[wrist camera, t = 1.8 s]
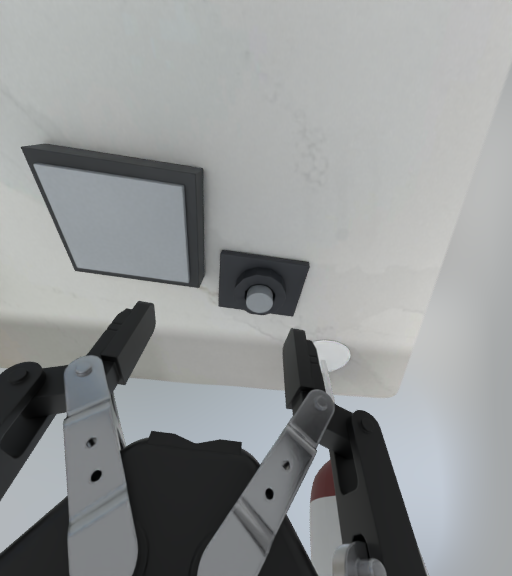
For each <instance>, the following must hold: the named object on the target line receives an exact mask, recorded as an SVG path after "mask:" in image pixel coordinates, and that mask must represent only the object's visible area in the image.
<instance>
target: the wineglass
mask: <svg viewBox="0 0 512 576" xmlns="http://www.w3.org/2000/svg"><path fill="white" fill-rule="evenodd" d="M313 344H314V345H315V347H316V349H317V354H318V358H319V365H320V368H321V372H323V378H324V383H325V388H326V393H327V394H328V395H329V396H330V397H331V399H332V400H333V402H334V403H335V400H334V396H333V391H332V386H331V382H330V377H329V373H328V372H330V371H334V370H337V369H339V368H341V367H342V366H344V365H345V364H346V363H347V362H348V361H349V359H350V351H349V349H348V348H347V347H346V346H345V345H343V344H341V343H339V342H336V341H330V340H321V341H315V342H313ZM310 541H311V562H312V564H313V566H314V568H315V570H316V572H317V574H318V576H332V561H333V555H334V552H335V550H336V548H337V547H338V546H340V545H341V544H342V538H341V531H340V524H339V517H338V509H337V502H336V495H335V488H334V481H333V474H332V466H331V459H330V460H329V461H328V462H327V463H326V464H324V466H323V467H322V468H321V469H320V470H319V472H318V473H317V475H316V476H315V479H314V482H313V486H312V491H311V500H310ZM418 549H419V548H418ZM419 552H420V551H419ZM420 555H421V553H420ZM421 558H422V556H421ZM422 561H423V558H422ZM423 564H424V568H425V571H426V574H427V576H429V574H428V571H427V569H426V566H425V563H424V561H423Z"/></svg>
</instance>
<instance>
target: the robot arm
mask: <svg viewBox="0 0 512 576" xmlns="http://www.w3.org/2000/svg"><path fill="white" fill-rule="evenodd" d="M155 324H156V320H155V309H154V304H153V303H148V302H142V301H138V302H137V303H136V305H135V306H134V308H133V309H125V310H124V311H122V312H121V313H119V314H118V315H117V316H116V317H115V319H114V320H113V321H112V324H110V325H109V327H108V328H107V330H106V331H105V332H104V333H103V334H102V336H101V337H100V338H99V340H98V341H97V342H96V344H95V345H94V346H93V348H92V349H91V350H90V352H89V353H88V354H87V355H86V356H83V357H80V358H78V359H76V360H74V361H73V362H71V363H70V364H69V365H65V366H58V367H50V368H42V367H41V366H40V365H39V364H38V363H36V362H23V363H19V364H16V365H14V366H12V367H10V368H8V369H6V370H5V371H4V372H2V373H1V374H0V501H1V499H2V497H3V496H4V494H5V493H6V491H7V489H8V488H9V487H10V485H11V484H12V482H13V480H14V479H15V477H16V476H17V474H18V473H19V471H20V470H21V468H22V467H23V465H24V463H25V462H26V460H27V459H28V457H29V456H30V454H31V453H32V451H33V450H34V448H35V446H36V445H37V443H38V442H39V440H40V439H41V437H42V436H43V434H44V432H45V431H46V429H47V428H48V426H49V425H50V423H51V422H52V420H53V419H54V417H55V415H56V414H59V413H64V412H67V417H66V419H64V422H63V429H64V430H63V431H64V446H65V461H66V476H67V492H68V496H67V497H66V498H64V499H63V500H62V501H61V502H60V503H59V504H58V505H56V506H55V507H54V508H53V509H52V510H50V511H49V512H48V513H47V514H46V515H45V516H44V517H42V518H41V519H40V520H39V521H38V522H37V523H35V524H34V525H33V526H32V527H31V528H29V529H28V530H27V531H26V532H25V533H24V534H22V536H20V537H19V538H18V539H17V540H16V541H14V542H13V543H12V544H11V545H10V546H9V547H8V548H6V549H5V550H4V551H3V552H2V553H0V576H318V574H317V572H316V570H315V568H314V566H313V564H312V562H311V560H310V559H309V557H308V555H307V553H306V551H305V549H304V547H303V545H302V543H301V541H300V540H299V537H298V536H297V534H296V532H295V530H294V528H293V526H292V524H291V522H290V520H289V518H288V516H287V514H286V513H287V511H288V509H289V507H290V505H291V503H292V501H293V499H294V497H295V495H296V493H297V491H298V489H299V487H300V485H301V483H302V481H303V479H304V477H305V475H306V473H307V471H308V469H309V467H310V465H311V463H312V461H313V459H314V457H315V455H316V452H317V450H316V448H317V446H318V444H320V445H322V446H324V447H326V448H328V449H329V452H330V459H331V466H332V474H333V481H334V488H335V495H336V502H337V509H338V517H339V524H340V531H341V538H342V544H341V545H340V546H338V547H337V548H336V550H335V552H334V555H333V561H332V576H427V574H426V571H425V568H424V564H423V561H422V558H421V555H420V552H419V549H418V546H417V542H416V539H415V536H414V533H413V530H412V527H411V523H410V521H409V517H408V514H407V511H406V508H405V505H404V501H403V498H402V495H401V492H400V489H399V486H398V482H397V479H396V476H395V473H394V470H393V467H392V464H391V460H390V457H389V454H388V451H387V448H386V444H385V441H384V438H383V435H382V432H381V429H380V427H379V424H378V422H377V421H376V420H375V418H374V417H373V416H372V415H370V414H369V413H367V412H365V411H362V410H357V411H355V412H354V413H351V412H349V411H347V410H345V409H343V408H341V407H339V406H337V405H336V404H335V403H334V402H333V400H332V399H331V397H330V396H329V395H328V394H327V393H326V390H325V386H324V381H323V377H322V372H321V368H320V365H319V358H318V354H317V349H316V347H315V345H314V344H313V342H312V341H310V340H306V335H305V331H304V330H299V329H293V328H291V330H290V332H289V334H288V336H287V339H286V341H285V343H284V346H283V367H284V383H285V397H286V408H287V409H292V410H293V417H292V418H291V420H290V421H289V423H288V424H287V426H286V427H285V429H284V430H283V432H282V433H281V435H280V436H279V437H278V439H277V441H276V442H275V443H274V445H273V446H272V448H271V449H270V451H269V452H268V454H267V456H266V457H265V458H264V460H263V461H262V463H261V464H259V463H258V461H257V460H256V459H255V458H254V457H253V456H252V455H251V454H250V453H248V452H247V451H245V450H243V449H241V445H242V442H236V441H228V440H215V441H209V442H203V443H193V442H191V441H189V440H186V439H184V438H182V437H180V436H178V435H176V434H172V433H163V432H156V431H151V434H150V436H149V438H144V439H141V440H138V441H136V442H133V443H131V444H130V445H128V446H126V443H125V439H124V436H123V432H122V428H121V424H120V420H119V416H118V411H117V407H116V402H115V398H114V393H113V391H114V389H115V388H116V386H117V384H121V385H125V384H126V382H127V380H128V378H129V377H130V375H131V373H132V371H133V369H134V367H135V365H136V364H137V362H138V360H139V358H140V356H141V354H142V352H143V351H144V349H145V347H146V345H147V343H148V341H149V339H150V337H151V336H152V334H153V332H154V329H155Z"/></svg>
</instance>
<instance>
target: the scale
mask: <svg viewBox="0 0 512 576" xmlns="http://www.w3.org/2000/svg"><path fill="white" fill-rule="evenodd" d="M21 149H22V151H23V153H24V155H25V158H26V160H27V162H28V165H29V167H30V169H31V171H32V174H33V176H34V178H35V180H36V183H37V185H38V187H39V190H40V192H41V194H42V196H43V199H44V201H45V203H46V206H47V208H48V210H49V212H50V215H51V217H52V219H53V221H54V224H55V226H56V228H57V231H58V233H59V235H60V237H61V240H62V242H63V244H64V247H65V249H66V251H67V253H68V256H69V258H70V260H71V262H72V265H73V267H74V269H75V271H80V272H87V273H94V274H102V275H109V276H116V277H123V278H131V279H138V280H145V281H153V282H160V283H167V284H174V285H182V286H189V287H196V288H199V287H200V285H201V282H202V280H203V278H204V210H203V169H202V168H197V167H191V166H184V165H178V164H172V163H165V162H159V161H152V160H146V159H140V158H133V157H127V156H121V155H114V154H108V153H101V152H95V151H89V150H82V149H76V148H70V147H63V146H57V145H51V144H39V145H31V146H23V147H21Z"/></svg>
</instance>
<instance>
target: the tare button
mask: <svg viewBox="0 0 512 576" xmlns="http://www.w3.org/2000/svg"><path fill="white" fill-rule="evenodd" d="M246 305H247V307H248V308H249V309H250V310H251V311H253V312H256V313H263V312H267V311H268V310H270V309H271V307H272V305H273V293H272V291H271V289H270V288H269V287H267V286H265V285H254V286H252V287H251V288H250V289H249V290H248V292H247V298H246Z"/></svg>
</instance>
